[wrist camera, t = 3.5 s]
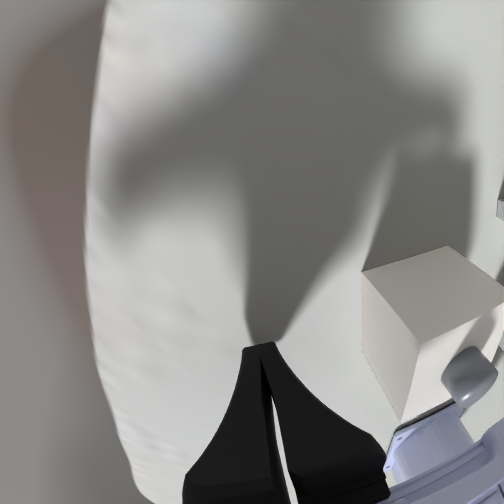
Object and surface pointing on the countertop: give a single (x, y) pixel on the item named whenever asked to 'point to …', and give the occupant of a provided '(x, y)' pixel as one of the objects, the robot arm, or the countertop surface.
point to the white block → (431, 330)
